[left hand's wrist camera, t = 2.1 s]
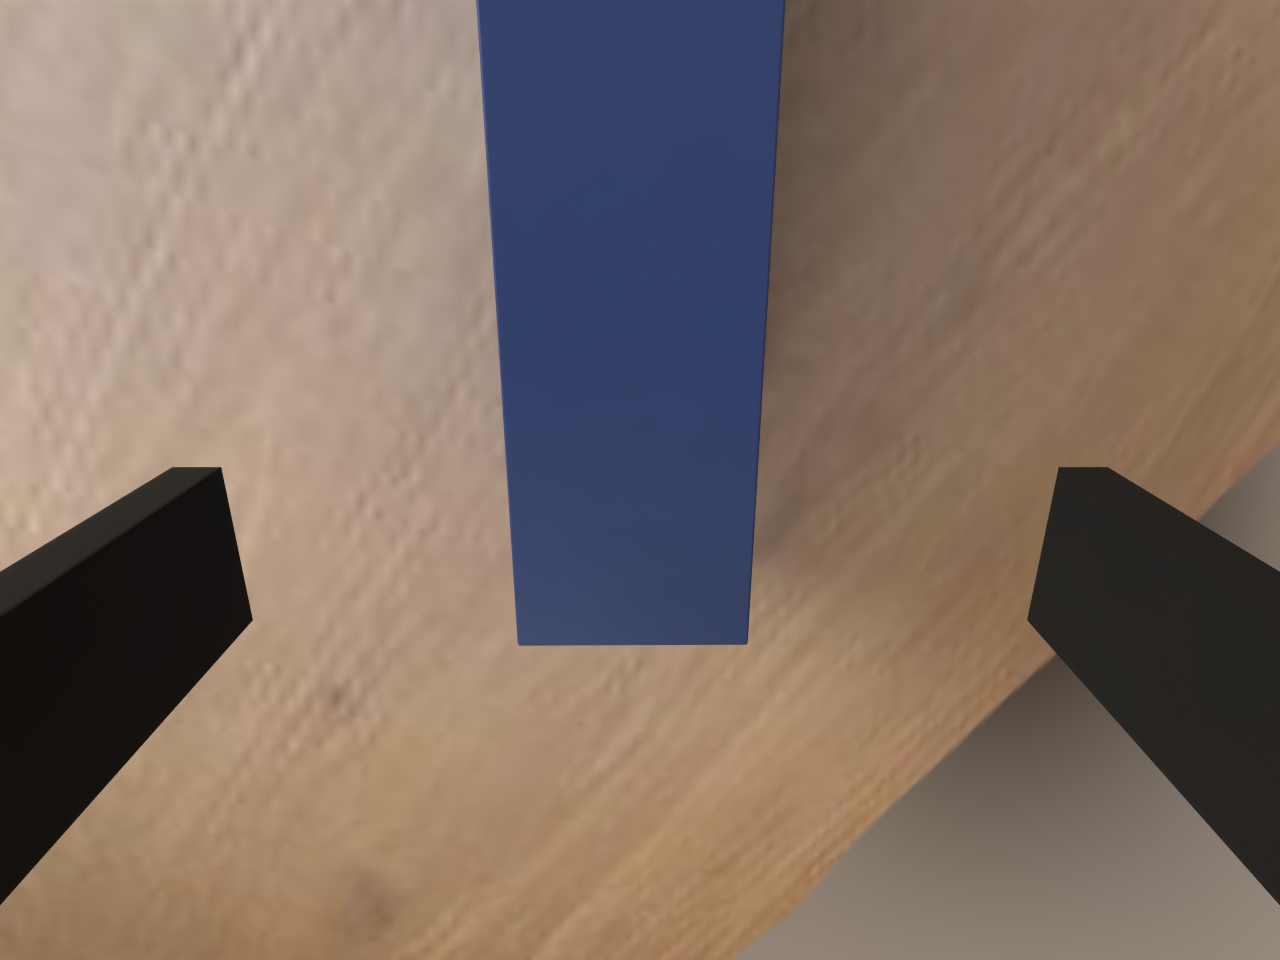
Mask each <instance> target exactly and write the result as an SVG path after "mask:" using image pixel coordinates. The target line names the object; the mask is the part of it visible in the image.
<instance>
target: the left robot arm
mask: <svg viewBox="0 0 1280 960" xmlns="http://www.w3.org/2000/svg"><path fill="white" fill-rule="evenodd" d="M252 620H253V619H252V614H251V609H250V604H249V600H248V595H247V590H246V585H245V580H244V575H243V571H242V566H241V561H240V556H239V551H238V546H237V542H236V537H235V532H234V527H233V522H232V517H231V513H230V508H229V503H228V498H227V493H226V488H225V484H224V479H223V474H222V469H221V467H172V468H170V469H169V470H167V471H165V472H164V473H162V474H160V475H159V476H157V477H156V478H154V479H152V480H151V481H149V482H147V483H146V484H144V485H142V486H141V487H139V488H137V489H136V490H134V491H132V492H131V493H129V494H128V495H126V496H124V497H123V498H121V499H119V500H118V501H116V502H114V503H113V504H111V505H109V506H108V507H106V508H104V509H103V510H101V511H100V512H98V513H96V514H95V515H93V516H91V517H90V518H88V519H86V520H85V521H83V522H81V523H80V524H78V525H76V526H75V527H73V528H72V529H70V530H68V531H67V532H65V533H63V534H62V535H60V536H58V537H57V538H55V539H53V540H52V541H50V542H49V543H47V544H45V545H44V546H42V547H40V548H39V549H37V550H35V551H34V552H32V553H30V554H29V555H27V556H25V557H24V558H22V559H21V560H19V561H17V562H16V563H14V564H12V565H11V566H9V567H7V568H6V569H4V570H2V571H1V572H0V905H1V904H2V903H3V901H4V900H5V899H6V898H7V897H8V896H9V895H10V893H11V892H12V891H13V890H14V889H15V888H16V887H17V886H18V884H19V883H20V882H21V881H22V880H23V879H24V878H25V877H26V875H27V874H28V873H29V872H30V871H31V870H32V869H33V868H34V866H35V865H36V864H37V863H38V862H39V861H40V860H41V859H42V857H43V856H44V855H45V854H46V853H47V852H48V851H49V849H50V848H51V847H52V846H53V845H54V844H55V843H56V842H57V840H58V839H59V838H60V837H61V836H62V835H63V834H64V833H65V831H66V830H67V829H68V828H69V827H70V826H71V825H72V824H73V822H74V821H75V820H76V819H77V818H78V817H79V816H80V814H81V813H82V812H83V811H84V810H85V809H86V808H87V807H88V805H89V804H90V803H91V802H92V801H93V800H94V799H95V798H96V796H97V795H98V794H99V793H100V792H101V791H102V790H103V789H104V787H105V786H106V785H107V784H108V783H109V782H110V781H111V780H112V778H113V777H114V776H115V775H116V774H117V773H118V772H119V770H120V769H121V768H122V767H123V766H124V765H125V764H126V763H127V761H128V760H129V759H130V758H131V757H132V756H133V755H134V754H135V752H136V751H137V750H138V749H139V748H140V747H141V746H142V745H143V743H144V742H145V741H146V740H147V739H148V738H149V737H150V736H151V734H152V733H153V732H154V731H155V730H156V729H157V728H158V726H159V725H160V724H161V723H162V722H163V721H164V720H165V719H166V717H167V716H168V715H169V714H170V713H171V712H172V711H173V710H174V708H175V707H176V706H177V705H178V704H179V703H180V702H181V701H182V699H183V698H184V697H185V696H186V695H187V694H188V693H189V692H190V690H191V689H192V688H193V687H194V686H195V685H196V684H197V682H198V681H199V680H200V679H201V678H202V677H203V676H204V675H205V673H206V672H207V671H208V670H209V669H210V668H211V667H212V666H213V664H214V663H215V662H216V661H217V660H218V659H219V658H220V657H221V655H222V654H223V653H224V652H225V651H226V650H227V649H228V648H229V646H230V645H231V644H232V643H233V642H234V641H235V640H236V638H237V637H238V636H239V635H240V634H241V633H242V632H243V631H244V629H245V628H246V627H247V626H248V625H249V624H250V623H251V622H252ZM1027 620H1028V622H1029V623H1030V624H1031V625H1032V626H1033V627H1034V628H1035V629H1036V631H1037V632H1038V633H1039V634H1040V635H1041V636H1042V637H1043V638H1044V640H1045V641H1046V642H1047V643H1048V644H1049V645H1050V646H1051V648H1052V649H1053V650H1054V651H1055V652H1056V653H1057V654H1058V655H1059V656H1060V658H1061V659H1062V660H1063V661H1064V662H1065V663H1066V664H1067V666H1068V667H1069V668H1070V669H1071V670H1072V671H1073V672H1074V673H1075V675H1076V676H1077V677H1078V678H1079V679H1080V680H1081V681H1082V682H1083V684H1084V685H1085V686H1086V687H1087V688H1088V689H1089V690H1090V692H1091V693H1092V694H1093V695H1094V696H1095V697H1096V698H1097V699H1098V701H1099V702H1100V703H1101V704H1102V705H1103V706H1104V707H1105V708H1106V710H1107V711H1108V712H1109V713H1110V714H1111V715H1112V716H1113V717H1114V719H1115V720H1116V721H1117V722H1118V723H1119V724H1120V725H1121V726H1122V728H1123V729H1124V730H1125V731H1126V732H1127V733H1128V734H1129V736H1130V737H1131V738H1132V739H1133V740H1134V741H1135V742H1136V743H1137V744H1138V746H1139V747H1140V748H1141V749H1142V750H1143V751H1144V752H1145V754H1146V755H1147V756H1148V757H1149V758H1150V759H1151V760H1152V761H1153V763H1154V764H1155V765H1156V766H1157V767H1158V768H1159V769H1160V770H1161V772H1162V773H1163V774H1164V775H1165V776H1166V777H1167V778H1168V780H1169V781H1170V782H1171V783H1172V784H1173V785H1174V786H1175V787H1176V788H1177V790H1178V791H1179V792H1180V793H1181V794H1182V795H1183V796H1184V798H1185V799H1186V800H1187V801H1188V802H1189V803H1190V804H1191V805H1192V807H1193V808H1194V809H1195V810H1196V811H1197V812H1198V813H1199V814H1200V816H1201V817H1202V818H1203V819H1204V820H1205V821H1206V822H1207V824H1208V825H1209V826H1210V827H1211V828H1212V829H1213V830H1214V831H1215V833H1216V834H1217V835H1218V836H1219V837H1220V838H1221V839H1222V840H1223V842H1224V843H1225V844H1226V845H1227V846H1228V847H1229V848H1230V849H1231V851H1232V852H1233V853H1234V854H1235V855H1236V856H1237V857H1238V858H1239V860H1240V861H1241V862H1242V863H1243V864H1244V865H1245V866H1246V867H1247V869H1248V870H1249V871H1250V872H1251V873H1252V874H1253V875H1254V877H1255V878H1256V879H1257V880H1258V881H1259V882H1260V883H1261V884H1262V886H1263V887H1264V888H1265V889H1266V890H1267V891H1268V892H1269V893H1270V895H1271V896H1272V897H1273V898H1274V899H1275V900H1276V901H1277V902H1278V904H1279V905H1280V572H1279V571H1278V570H1276V569H1274V568H1273V567H1271V566H1269V565H1268V564H1266V563H1264V562H1263V561H1261V560H1259V559H1258V558H1256V557H1254V556H1253V555H1251V554H1250V553H1248V552H1246V551H1245V550H1243V549H1241V548H1240V547H1238V546H1236V545H1235V544H1233V543H1231V542H1230V541H1228V540H1227V539H1225V538H1223V537H1222V536H1220V535H1218V534H1217V533H1215V532H1213V531H1212V530H1210V529H1208V528H1207V527H1205V526H1203V525H1202V524H1200V523H1199V522H1197V521H1195V520H1194V519H1192V518H1190V517H1189V516H1187V515H1185V514H1184V513H1182V512H1180V511H1179V510H1177V509H1176V508H1174V507H1172V506H1171V505H1169V504H1167V503H1166V502H1164V501H1162V500H1161V499H1159V498H1157V497H1156V496H1154V495H1152V494H1151V493H1149V492H1148V491H1146V490H1144V489H1143V488H1141V487H1139V486H1138V485H1136V484H1134V483H1133V482H1131V481H1129V480H1128V479H1126V478H1124V477H1123V476H1121V475H1120V474H1118V473H1116V472H1115V471H1113V470H1111V469H1110V468H1108V467H1059V469H1058V474H1057V479H1056V484H1055V488H1054V493H1053V498H1052V503H1051V508H1050V513H1049V517H1048V522H1047V527H1046V532H1045V537H1044V542H1043V546H1042V551H1041V556H1040V561H1039V566H1038V571H1037V575H1036V580H1035V585H1034V590H1033V595H1032V600H1031V604H1030V609H1029V614H1028V619H1027Z"/></svg>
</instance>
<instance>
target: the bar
mask: <svg viewBox="0 0 1280 960" xmlns="http://www.w3.org/2000/svg"><path fill="white" fill-rule="evenodd" d="M476 3H477V19H478V34H479V50H480V65H481V81H482V96H483V112H484V127H485V143H486V158H487V173H488V189H489V204H490V220H491V235H492V251H493V266H494V282H495V297H496V313H497V328H498V343H499V359H500V374H501V390H502V405H503V421H504V436H505V452H506V467H507V483H508V498H509V514H510V529H511V544H512V560H513V575H514V591H515V606H516V622H517V637H518V645H520V646H523V645H746V644H747V643H748V628H749V611H750V594H751V577H752V560H753V543H754V526H755V508H756V491H757V474H758V457H759V440H760V423H761V406H762V389H763V372H764V355H765V338H766V321H767V304H768V287H769V270H770V252H771V235H772V218H773V201H774V184H775V167H776V150H777V133H778V116H779V99H780V82H781V65H782V48H783V31H784V13H785V0H476Z"/></svg>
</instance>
